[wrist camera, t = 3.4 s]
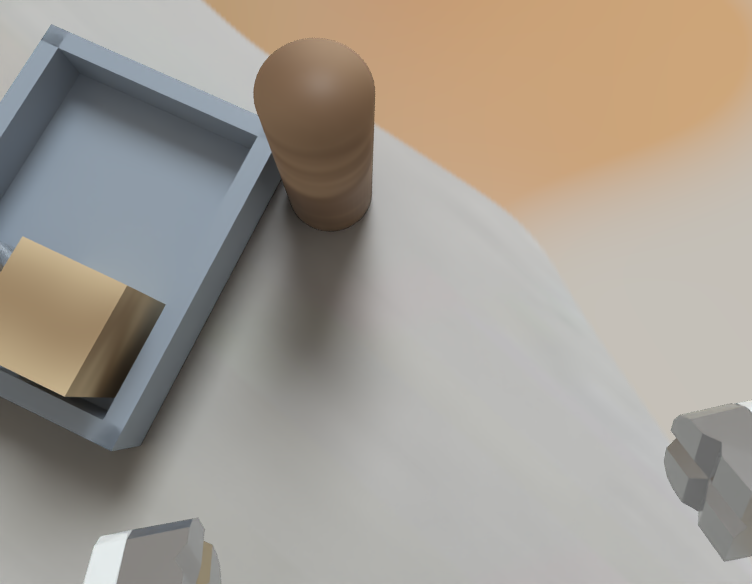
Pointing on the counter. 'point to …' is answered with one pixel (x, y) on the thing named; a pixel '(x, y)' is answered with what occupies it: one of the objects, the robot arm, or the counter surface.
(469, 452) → the counter surface
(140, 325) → the oak block
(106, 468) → the counter surface
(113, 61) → the tray
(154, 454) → the counter surface
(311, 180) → the brown wooden peg
